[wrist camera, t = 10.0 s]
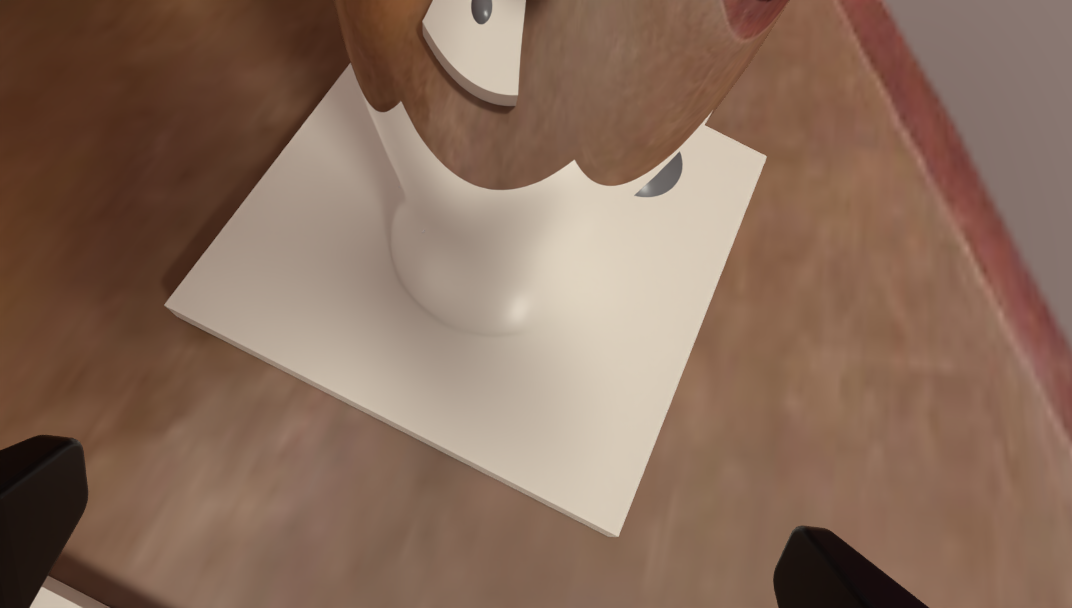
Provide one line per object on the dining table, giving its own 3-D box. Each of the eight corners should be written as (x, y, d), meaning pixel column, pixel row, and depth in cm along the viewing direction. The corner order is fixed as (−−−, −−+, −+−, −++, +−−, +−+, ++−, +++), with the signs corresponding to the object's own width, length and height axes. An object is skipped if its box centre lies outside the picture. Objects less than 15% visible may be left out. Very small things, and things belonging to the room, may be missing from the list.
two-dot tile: (753, 171, 24) (767, 156, 23) (608, 536, 19) (618, 536, 18) (414, 1, 24) (414, -21, 23) (177, 316, 19) (163, 305, 18)
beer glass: (483, 107, 22) (590, -673, 8) (643, 242, 21) (1082, -354, 7) (325, 241, 19) (55, -554, 5) (499, 399, 18) (734, -36, 4)
